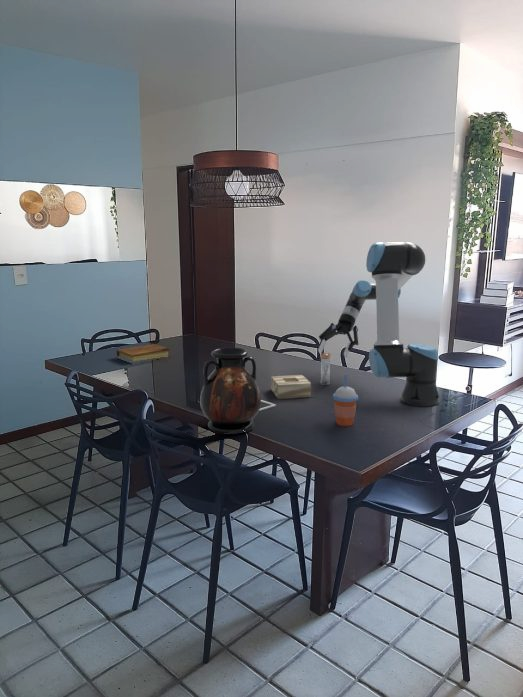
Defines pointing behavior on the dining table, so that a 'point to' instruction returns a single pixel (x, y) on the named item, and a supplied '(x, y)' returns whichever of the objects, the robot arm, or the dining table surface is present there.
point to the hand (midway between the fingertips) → (332, 354)
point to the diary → (143, 352)
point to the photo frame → (267, 406)
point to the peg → (325, 368)
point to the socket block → (290, 386)
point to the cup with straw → (345, 405)
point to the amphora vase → (230, 392)
